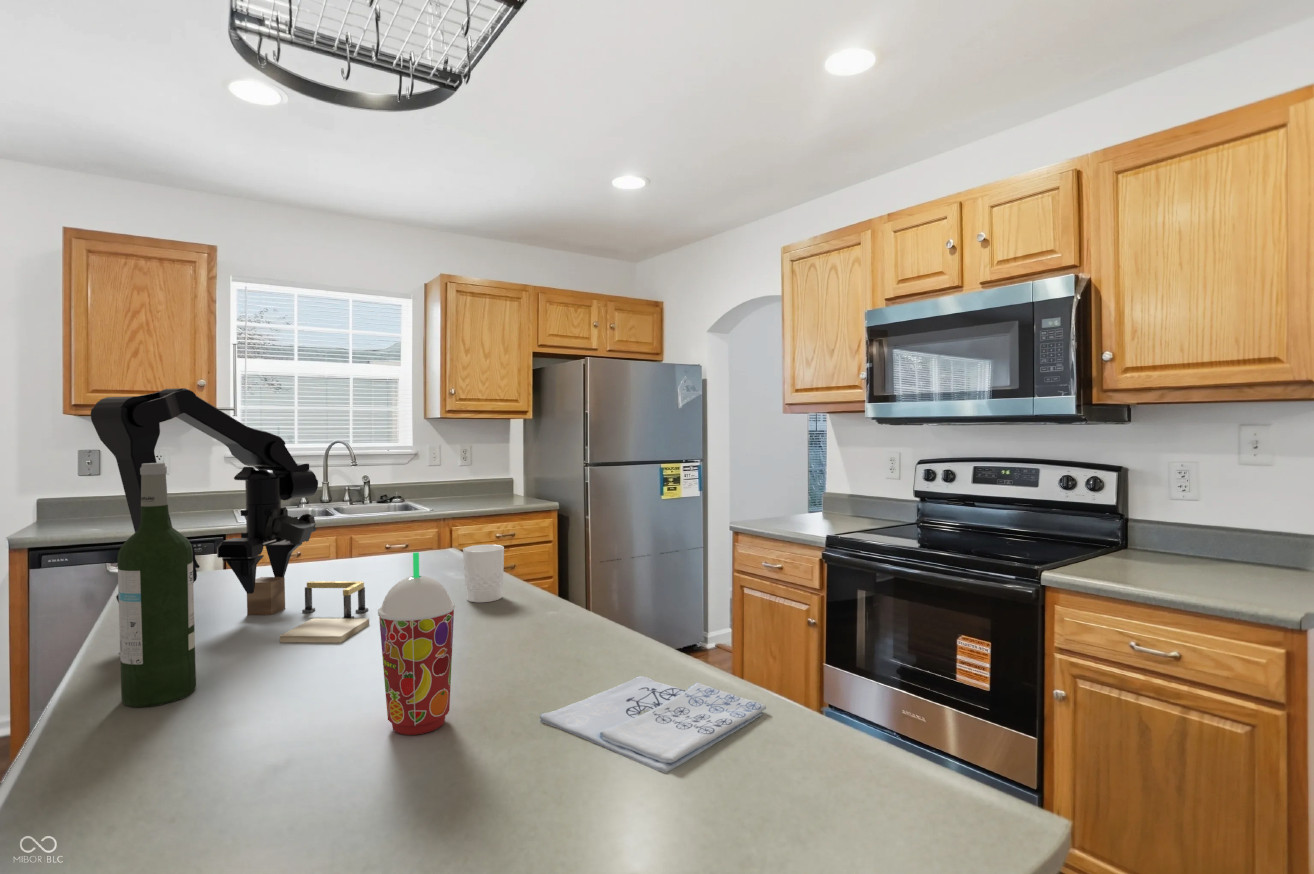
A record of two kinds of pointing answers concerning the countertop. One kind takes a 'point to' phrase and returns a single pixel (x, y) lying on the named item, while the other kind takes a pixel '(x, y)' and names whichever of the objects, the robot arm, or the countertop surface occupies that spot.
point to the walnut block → (267, 596)
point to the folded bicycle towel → (656, 720)
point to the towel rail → (350, 589)
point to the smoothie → (417, 653)
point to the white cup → (483, 572)
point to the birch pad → (324, 630)
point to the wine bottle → (156, 603)
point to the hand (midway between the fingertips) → (265, 587)
